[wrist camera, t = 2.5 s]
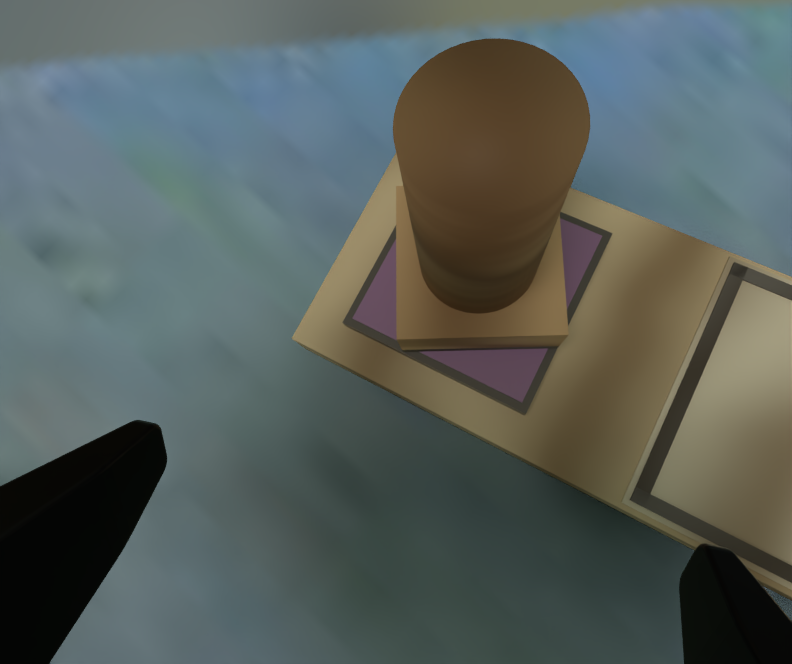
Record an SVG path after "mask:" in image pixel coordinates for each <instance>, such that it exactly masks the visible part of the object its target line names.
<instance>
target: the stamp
mask: <svg viewBox="0 0 792 664" xmlns="http://www.w3.org/2000/svg"><path fill="white" fill-rule="evenodd" d="M589 131H590V113H589V107H588V103H587V100H586V97H585V94H584V91H583V89H582V87H581V85H580V83H579V82H578V80H577V79H576V78H575V76H574V75H573V73H572V72H571V71H570V70H569V69H568V68H567V67H566V66H565V65H564V64H563V63H562V62H561V61H559V60H558V59H557V58H556V57H554V56H553V55H551V54H549V53H548V52H546V51H544V50H542V49H540V48H538V47H536V46H533V45H530V44H527V43H524V42H520V41H515V40H509V39H482V40H475V41H470V42H466V43H462V44H459V45H457V46H454V47H451V48H449V49H447V50H445V51H443V52H441V53H439V54H438V55H436V56H435V57H433V58H432V59H430V60H429V61H428V62H426V63H425V64H424V65H423V66H422V67H421V68H419V70H418V71H417V72H416V73H415V74H414V75H413V76H412V77H411V79H410V80H409V82H408V83H407V84H406V86H405V88H404V89H403V91H402V93H401V95H400V97H399V100H398V103H397V106H396V109H395V114H394V121H393V136H394V143H395V148H396V153H397V158H398V163H399V167H400V172H401V177H402V182H403V186H396V334H397V341H398V343H399V345H400V347H401V349H402V351H403V352H425V351H466V350H507V349H548V348H558V347H559V346H560V345H561V343H562V342H563V341H564V340H565V339H566V337H567V336H568V335H569V332H568V319H567V306H566V292H565V279H564V265H563V252H562V238H561V225H560V212H561V209H562V207H563V204H564V202H565V199H566V197H567V194H568V192H569V189H570V187H571V184H572V182H573V179H574V177H575V174H576V172H577V169H578V167H579V164H580V162H581V159H582V157H583V154H584V152H585V149H586V145H587V142H588V138H589Z"/></svg>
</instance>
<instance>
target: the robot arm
mask: <svg viewBox="0 0 792 664" xmlns="http://www.w3.org/2000/svg"><path fill="white" fill-rule="evenodd" d="M166 464H167V454H166V449H165V444H164V440H163V435H162V431H161V428H160V427H159V425H158V424H156V423H151V422H147V421H142V420H135V421H132V422H130V423H128V424H126V425H123V426H121V427H119V428H117V429H115V430H113V431H111V432H109V433H107V434H105V435H103V436H101V437H99V438H97V439H95V440H93V441H91V442H89V443H87V444H85V445H83V446H81V447H79V448H77V449H75V450H73V451H71V452H69V453H67V454H65V455H63V456H61V457H59V458H57V459H55V460H53V461H51V462H48V463H46V464H44V465H42V466H40V467H38V468H36V469H34V470H32V471H30V472H28V473H26V474H24V475H22V476H20V477H18V478H16V479H14V480H12V481H10V482H8V483H6V484H4V485H2V486H0V664H49V663H50V661H51V660H52V658H53V657H54V655H55V654H56V652H57V650H58V649H59V647H60V646H61V644H62V643H63V641H64V640H65V638H66V637H67V635H68V634H69V632H70V631H71V629H72V627H73V626H74V624H75V623H76V621H77V620H78V618H79V617H80V615H81V614H82V612H83V611H84V609H85V608H86V606H87V604H88V603H89V601H90V600H91V598H92V597H93V595H94V594H95V592H96V591H97V589H98V588H99V586H100V585H101V583H102V581H103V580H104V578H105V577H106V575H107V574H108V572H109V571H110V569H111V568H112V566H113V565H114V563H115V562H116V560H117V558H118V557H119V555H120V554H121V552H122V550H123V549H124V547H125V545H126V543H127V542H128V540H129V538H130V536H131V534H132V532H133V531H134V529H135V527H136V525H137V523H138V521H139V519H140V517H141V515H142V513H143V511H144V509H145V507H146V505H147V503H148V502H149V500H150V498H151V496H152V494H153V492H154V490H155V488H156V486H157V484H158V482H159V480H160V478H161V476H162V474H163V473H164V470H165V468H166ZM679 593H680V608H681V623H682V638H683V653H684V664H792V621H791V620H790V619H789V617H788V616H787V615H786V614H785V613H784V611H783V610H782V609H781V608H780V607H779V605H778V604H777V603H776V602H775V601H774V600H773V598H772V597H771V596H770V595H769V594H768V592H767V591H766V590H765V589H764V588H763V586H762V585H761V584H760V583H759V582H758V580H757V579H756V578H755V577H754V576H753V574H752V573H751V572H750V571H749V570H748V568H747V567H746V566H745V565H744V564H743V562H742V561H741V560H740V559H739V558H738V556H737V555H736V554H735V553H734V552H733V551H731V550H730V549H728V548H725V547H721V546H716V545H712V544H707V543H702V544H700V545H698V547H697V548H696V549H695V551H694V553H693V555H692V557H691V558H690V560H689V562H688V564H687V566H686V567H685V569H684V571H683V573H682V575H681V578H680V584H679Z"/></svg>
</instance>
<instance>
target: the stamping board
mask: <svg viewBox="0 0 792 664" xmlns="http://www.w3.org/2000/svg"><path fill="white" fill-rule="evenodd" d="M396 186H403V182H402V177H401V172H400V167H399V163H398V158H397V153H396V154H395V156H394V157H393V159H392V161H391V163H390V165H389V166H388V168H387V170H386V172H385V173H384V175H383V177H382V179H381V181H380V182H379V184H378V186H377V188H376V189H375V191H374V193H373V195H372V197H371V198H370V200H369V202H368V204H367V205H366V207H365V209H364V211H363V213H362V214H361V216H360V218H359V220H358V221H357V223H356V225H355V227H354V229H353V230H352V232H351V234H350V236H349V237H348V239H347V241H346V243H345V245H344V246H343V248H342V250H341V252H340V253H339V255H338V257H337V259H336V261H335V262H334V264H333V266H332V268H331V269H330V271H329V273H328V275H327V277H326V278H325V280H324V282H323V284H322V285H321V287H320V289H319V291H318V293H317V294H316V296H315V298H314V300H313V301H312V303H311V305H310V307H309V309H308V310H307V312H306V314H305V316H304V317H303V319H302V321H301V323H300V325H299V326H298V328H297V330H296V332H295V333H294V335H293V337H292V339H293V340H294V341H296V342H297V343H298V344H300V345H301V346H302V347H304V348H305V349H307V350H309V351H311V352H313V353H315V354H317V355H319V356H321V357H323V358H324V359H326V360H328V361H330V362H332V363H334V364H336V365H338V366H340V367H342V368H344V369H346V370H348V371H350V372H351V373H353V374H355V375H357V376H359V377H361V378H363V379H365V380H367V381H369V382H371V383H373V384H375V385H377V386H378V387H380V388H382V389H384V390H386V391H388V392H390V393H392V394H394V395H396V396H398V397H400V398H402V399H404V400H405V401H407V402H409V403H411V404H413V405H415V406H417V407H419V408H421V409H423V410H425V411H427V412H429V413H431V414H433V415H434V416H436V417H438V418H440V419H442V420H444V421H446V422H448V423H450V424H452V425H454V426H456V427H458V428H460V429H461V430H463V431H465V432H467V433H469V434H471V435H473V436H475V437H477V438H479V439H481V440H483V441H485V442H487V443H488V444H490V445H492V446H494V447H496V448H498V449H500V450H502V451H504V452H506V453H508V454H510V455H512V456H514V457H515V458H517V459H519V460H521V461H523V462H525V463H527V464H529V465H531V466H533V467H535V468H537V469H539V470H541V471H542V472H544V473H546V474H548V475H550V476H552V477H554V478H556V479H558V480H560V481H562V482H564V483H566V484H568V485H570V486H571V487H573V488H575V489H577V490H579V491H581V492H583V493H585V494H587V495H589V496H591V497H593V498H595V499H597V500H598V501H600V502H602V503H604V504H606V505H608V506H610V507H612V508H614V509H616V510H618V511H620V512H622V513H624V514H625V515H627V516H629V517H631V518H633V519H635V520H637V521H639V522H641V523H643V524H645V525H647V526H649V527H651V528H652V529H654V530H656V531H658V532H660V533H662V534H664V535H666V536H668V537H670V538H672V539H674V540H676V541H678V542H680V543H681V544H683V545H685V546H687V547H689V548H691V549H693V550H695V549H696V548H697V547H698V545H700V544H702V543H707V544H712V545H716V546H721V547H725V548H728V549H730V550H731V551H733V552H734V553H735V554H736V555H737V556H738V558H739V559H740V560H741V561H742V562H743V564H744V565H745V566H746V567H747V568H748V570H749V571H750V572H751V573H752V574H753V576H754V577H755V578H756V579H757V580H758V582H759V583H760V584H761V585H762V586H764V587H766V588H768V589H770V590H772V591H774V592H776V593H778V594H780V595H782V596H784V597H786V598H788V599H790V600H791V601H792V277H790V276H788V275H785V274H783V273H780V272H778V271H775V270H773V269H770V268H768V267H765V266H763V265H760V264H758V263H755V262H753V261H751V260H748V259H746V258H743V257H741V256H738V255H736V254H733V253H731V252H728V251H726V250H723V249H721V248H718V247H716V246H713V245H711V244H709V243H706V242H704V241H701V240H699V239H696V238H694V237H691V236H689V235H686V234H684V233H681V232H679V231H676V230H674V229H671V228H669V227H666V226H664V225H662V224H659V223H657V222H654V221H652V220H649V219H647V218H644V217H642V216H639V215H637V214H634V213H632V212H629V211H627V210H624V209H622V208H619V207H617V206H615V205H612V204H610V203H607V202H605V201H602V200H600V199H597V198H595V197H592V196H590V195H587V194H585V193H582V192H580V191H577V190H575V189H572V188H570V189H569V192H568V194H567V197H566V199H565V202H564V204H563V207H562V209H561V212H563V213H565V214H567V215H570V216H572V217H575V218H577V219H579V220H582V221H584V222H587V223H589V224H592V225H594V226H596V227H599V228H601V229H604V230H606V231H608V232H611V233H613V234H612V236H611V238H610V240H609V242H608V244H607V246H606V248H605V250H604V253H603V255H602V257H601V259H600V261H599V263H598V265H597V267H596V269H595V271H594V273H593V275H592V278H591V280H590V282H589V284H588V286H587V288H586V290H585V292H584V294H583V296H582V298H581V300H580V303H579V305H578V307H577V309H576V311H575V313H574V315H573V317H572V319H571V321H570V323H569V325H568V332H569V335H568V336H567V337H566V339H565V340H564V341H563V342H562V343H561V345H560V346H559V347H558V348H557V350H556V353H555V355H554V357H553V359H552V361H551V363H550V365H549V367H548V369H547V371H546V373H545V376H544V378H543V380H542V382H541V384H540V386H539V388H538V390H537V392H536V394H535V396H534V398H533V401H532V403H531V405H530V407H529V409H528V411H527V413H526V414H525V415H522V414H520V413H518V412H516V411H514V410H512V409H510V408H508V407H506V406H504V405H502V404H500V403H498V402H496V401H494V400H492V399H490V398H488V397H486V396H484V395H482V394H480V393H478V392H476V391H474V390H472V389H470V388H468V387H466V386H464V385H462V384H460V383H458V382H456V381H454V380H452V379H450V378H448V377H446V376H444V375H442V374H440V373H438V372H436V371H434V370H432V369H430V368H428V367H426V366H424V365H422V364H420V363H418V362H416V361H414V360H412V359H410V358H408V357H406V356H404V355H402V354H400V353H398V352H396V351H394V350H392V349H390V348H388V347H386V346H384V345H382V344H380V343H378V342H376V341H374V340H372V339H370V338H368V337H366V336H364V335H362V334H360V333H358V332H356V331H354V330H352V329H350V328H348V327H346V326H345V325H344V324H343V323H342V322H343V320H344V319H345V317H346V315H347V313H348V311H349V310H350V308H351V306H352V304H353V302H354V300H355V299H356V297H357V295H358V293H359V291H360V290H361V288H362V286H363V284H364V282H365V280H366V279H367V277H368V275H369V273H370V271H371V269H372V268H373V266H374V264H375V262H376V260H377V259H378V257H379V255H380V253H381V251H382V249H383V248H384V246H385V244H386V242H387V240H388V239H389V237H390V235H391V233H392V231H393V229H394V228H395V226H396Z"/></svg>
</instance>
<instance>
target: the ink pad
mask: <svg viewBox="0 0 792 664" xmlns="http://www.w3.org/2000/svg"><path fill="white" fill-rule="evenodd" d="M560 225H561V238H562V252H563V265H564V279H565V292H566V306H567V319H568V325H569V323H570V321H571V319H572V317H573V315H574V313H575V311H576V309H577V307H578V305H579V303H580V300H581V298H582V296H583V294H584V292H585V290H586V288H587V286H588V284H589V282H590V280H591V278H592V275H593V273H594V271H595V269H596V267H597V265H598V263H599V261H600V259H601V257H602V255H603V253H604V250H605V248H606V246H607V244H608V242H609V240H610V238H611V236H612V234H613V233H611V232H608V231H606V230H604V229H601V228H599V227H596V226H594V225H592V224H589V223H587V222H584V221H582V220H579V219H577V218H575V217H572V216H570V215H567V214H565V213H563V212H560ZM342 323H343V324H344V325H345V326H346V327H348V328H350V329H352V330H354V331H356V332H358V333H360V334H362V335H364V336H366V337H368V338H370V339H372V340H374V341H376V342H378V343H380V344H382V345H384V346H386V347H388V348H390V349H392V350H394V351H396V352H398V353H400V354H402V355H404V356H406V357H408V358H410V359H412V360H414V361H416V362H418V363H420V364H422V365H424V366H426V367H428V368H430V369H432V370H434V371H436V372H438V373H440V374H442V375H444V376H446V377H448V378H450V379H452V380H454V381H456V382H458V383H460V384H462V385H464V386H466V387H468V388H470V389H472V390H474V391H476V392H478V393H480V394H482V395H484V396H486V397H488V398H490V399H492V400H494V401H496V402H498V403H500V404H502V405H504V406H506V407H508V408H510V409H512V410H514V411H516V412H518V413H520V414H522V415H525V414H526V413H527V411H528V409H529V407H530V405H531V403H532V401H533V398H534V396H535V394H536V392H537V390H538V388H539V386H540V384H541V382H542V380H543V378H544V376H545V373H546V371H547V369H548V367H549V365H550V363H551V361H552V359H553V357H554V355H555V353H556V350H557V348H548V349H507V350H466V351H425V352H403V351H402V349H401V347H400V345H399V343H398V341H397V334H396V226H395V228H394V229H393V231H392V233H391V235H390V237H389V239H388V240H387V242H386V244H385V246H384V248H383V249H382V251H381V253H380V255H379V257H378V259H377V260H376V262H375V264H374V266H373V268H372V269H371V271H370V273H369V275H368V277H367V279H366V280H365V282H364V284H363V286H362V288H361V290H360V291H359V293H358V295H357V297H356V299H355V300H354V302H353V304H352V306H351V308H350V310H349V311H348V313H347V315H346V317H345V319H344V320H343V322H342Z"/></svg>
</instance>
